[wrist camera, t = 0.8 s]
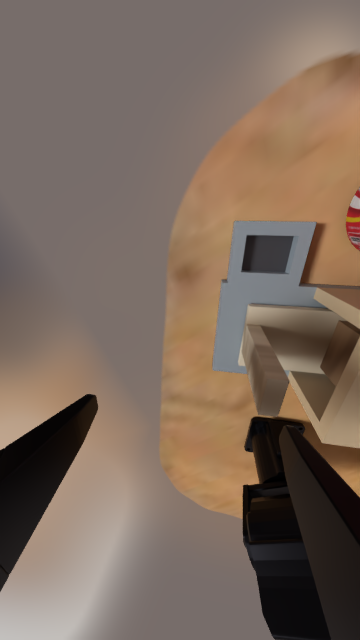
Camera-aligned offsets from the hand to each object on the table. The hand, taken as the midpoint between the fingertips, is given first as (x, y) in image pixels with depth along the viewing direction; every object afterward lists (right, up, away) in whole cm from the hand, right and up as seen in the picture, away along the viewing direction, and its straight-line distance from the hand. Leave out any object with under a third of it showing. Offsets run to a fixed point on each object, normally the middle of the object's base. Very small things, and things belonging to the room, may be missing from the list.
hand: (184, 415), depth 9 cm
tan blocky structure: (+12, +3, +9) cm, 16 cm away
